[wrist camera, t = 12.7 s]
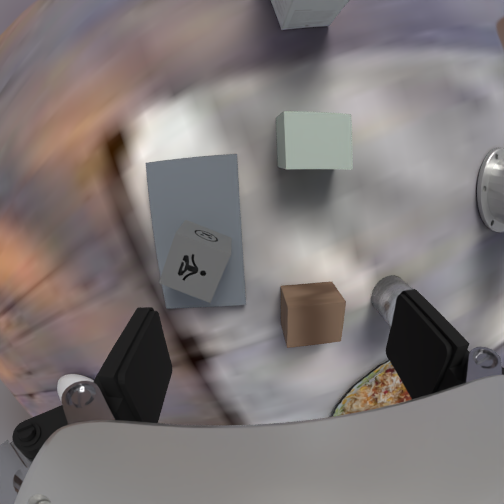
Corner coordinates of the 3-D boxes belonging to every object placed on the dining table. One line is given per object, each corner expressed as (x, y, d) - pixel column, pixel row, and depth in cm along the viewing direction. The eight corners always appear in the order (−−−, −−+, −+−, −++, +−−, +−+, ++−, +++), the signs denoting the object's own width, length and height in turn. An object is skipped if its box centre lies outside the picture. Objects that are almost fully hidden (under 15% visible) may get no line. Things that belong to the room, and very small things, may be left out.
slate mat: (236, 153, 28) (237, 153, 27) (245, 300, 33) (246, 304, 32) (148, 162, 27) (145, 162, 26) (168, 304, 33) (166, 308, 32)
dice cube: (185, 219, 28) (175, 232, 24) (231, 237, 29) (231, 254, 25) (169, 262, 30) (158, 283, 25) (213, 280, 31) (210, 302, 26)
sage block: (333, 119, 27) (351, 114, 22) (334, 166, 29) (352, 169, 24) (275, 118, 27) (283, 111, 22) (277, 166, 28) (286, 169, 24)
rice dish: (358, 338, 38) (370, 362, 32) (480, 336, 39) (495, 352, 34) (307, 448, 46) (311, 469, 41) (418, 435, 48) (426, 451, 43)
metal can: (407, 273, 33) (432, 294, 27) (401, 307, 35) (423, 331, 29) (373, 277, 33) (396, 300, 27) (368, 312, 35) (388, 339, 29)
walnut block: (331, 281, 33) (345, 301, 28) (328, 317, 35) (340, 341, 30) (280, 285, 33) (287, 307, 28) (280, 322, 34) (287, 347, 30)
